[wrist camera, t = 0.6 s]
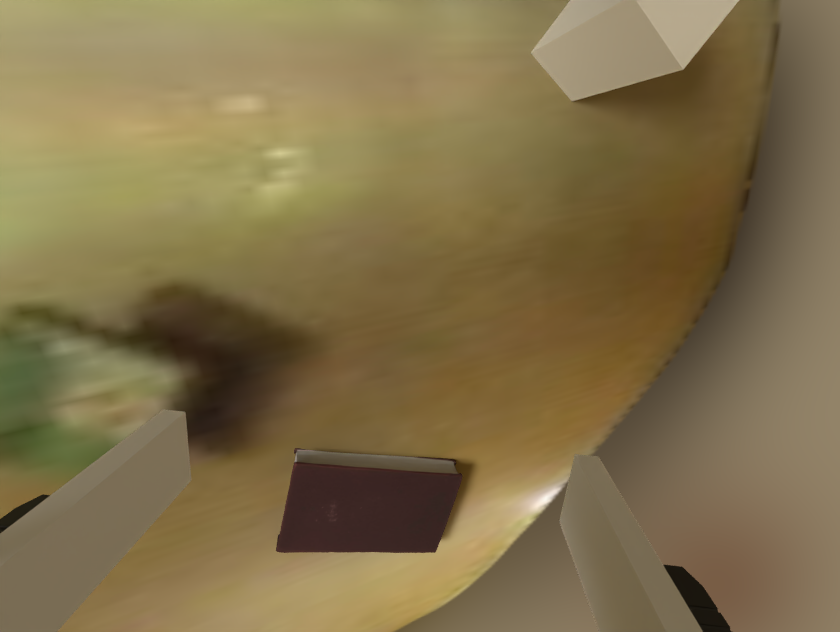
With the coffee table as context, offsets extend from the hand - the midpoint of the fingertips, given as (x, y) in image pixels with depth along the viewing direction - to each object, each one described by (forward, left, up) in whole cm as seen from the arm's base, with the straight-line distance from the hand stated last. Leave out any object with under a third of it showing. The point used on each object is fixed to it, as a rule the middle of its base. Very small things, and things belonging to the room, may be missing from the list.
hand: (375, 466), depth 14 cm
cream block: (0, +30, -28) cm, 41 cm away
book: (+22, -17, -29) cm, 40 cm away
